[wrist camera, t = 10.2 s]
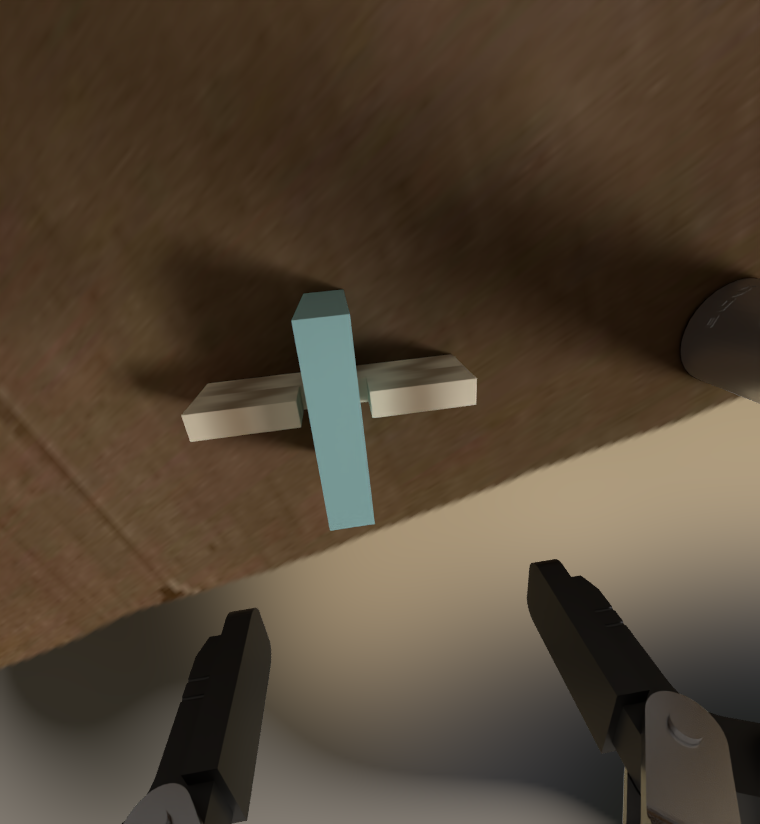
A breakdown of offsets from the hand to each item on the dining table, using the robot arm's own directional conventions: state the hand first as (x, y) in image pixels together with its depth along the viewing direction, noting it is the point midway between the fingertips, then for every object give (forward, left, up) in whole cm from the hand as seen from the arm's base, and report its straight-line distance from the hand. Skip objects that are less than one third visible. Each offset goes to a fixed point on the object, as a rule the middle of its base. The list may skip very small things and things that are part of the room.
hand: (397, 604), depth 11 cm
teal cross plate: (+1, +2, -22) cm, 22 cm away
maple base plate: (+1, +2, -22) cm, 22 cm away
